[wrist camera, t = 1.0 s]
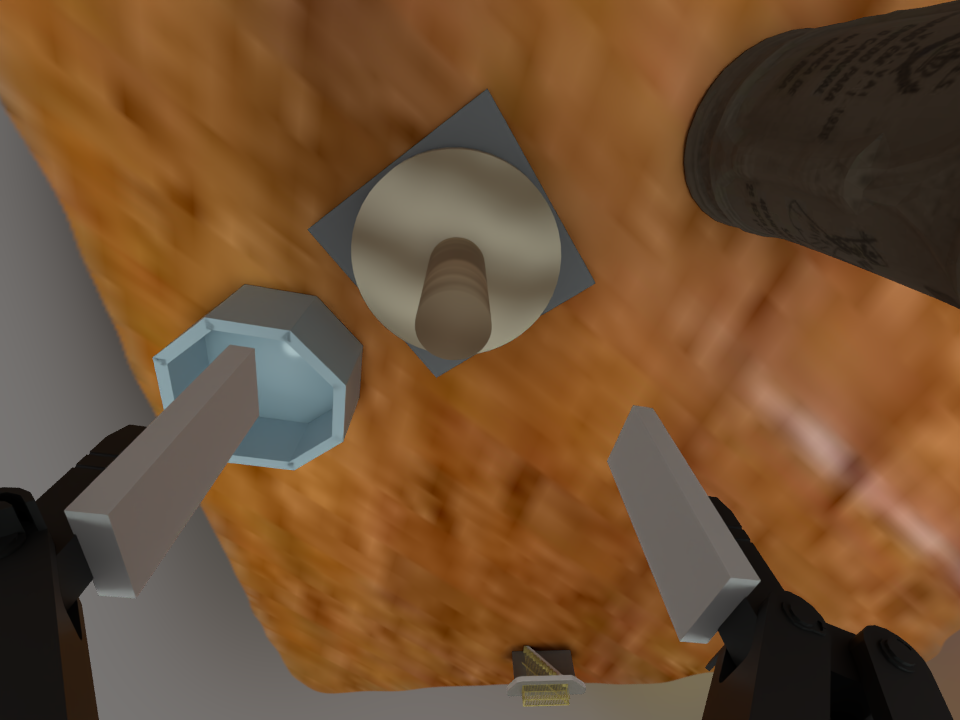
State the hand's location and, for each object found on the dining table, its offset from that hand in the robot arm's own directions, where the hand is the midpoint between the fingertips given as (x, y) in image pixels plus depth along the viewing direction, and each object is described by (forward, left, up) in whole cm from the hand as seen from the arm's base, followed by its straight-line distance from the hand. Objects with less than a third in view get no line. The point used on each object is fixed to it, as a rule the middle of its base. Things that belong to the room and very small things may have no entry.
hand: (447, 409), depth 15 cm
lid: (0, 0, -17) cm, 17 cm away
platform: (+51, +20, -18) cm, 57 cm away
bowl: (+11, -12, -17) cm, 24 cm away
